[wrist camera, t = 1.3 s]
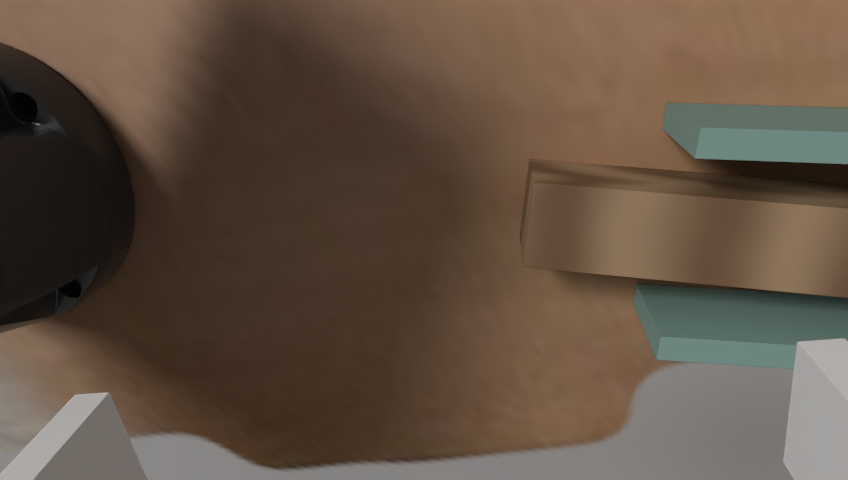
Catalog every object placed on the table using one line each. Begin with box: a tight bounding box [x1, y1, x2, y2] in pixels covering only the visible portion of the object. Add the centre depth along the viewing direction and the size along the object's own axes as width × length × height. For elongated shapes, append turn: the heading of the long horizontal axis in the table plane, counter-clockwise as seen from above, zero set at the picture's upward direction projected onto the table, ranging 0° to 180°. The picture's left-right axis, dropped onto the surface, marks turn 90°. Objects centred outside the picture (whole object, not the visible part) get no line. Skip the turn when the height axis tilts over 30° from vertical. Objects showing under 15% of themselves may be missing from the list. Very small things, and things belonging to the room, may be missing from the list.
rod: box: [520, 159, 848, 298], centre depth 28 cm, size 16×4×4 cm, turn 87°
